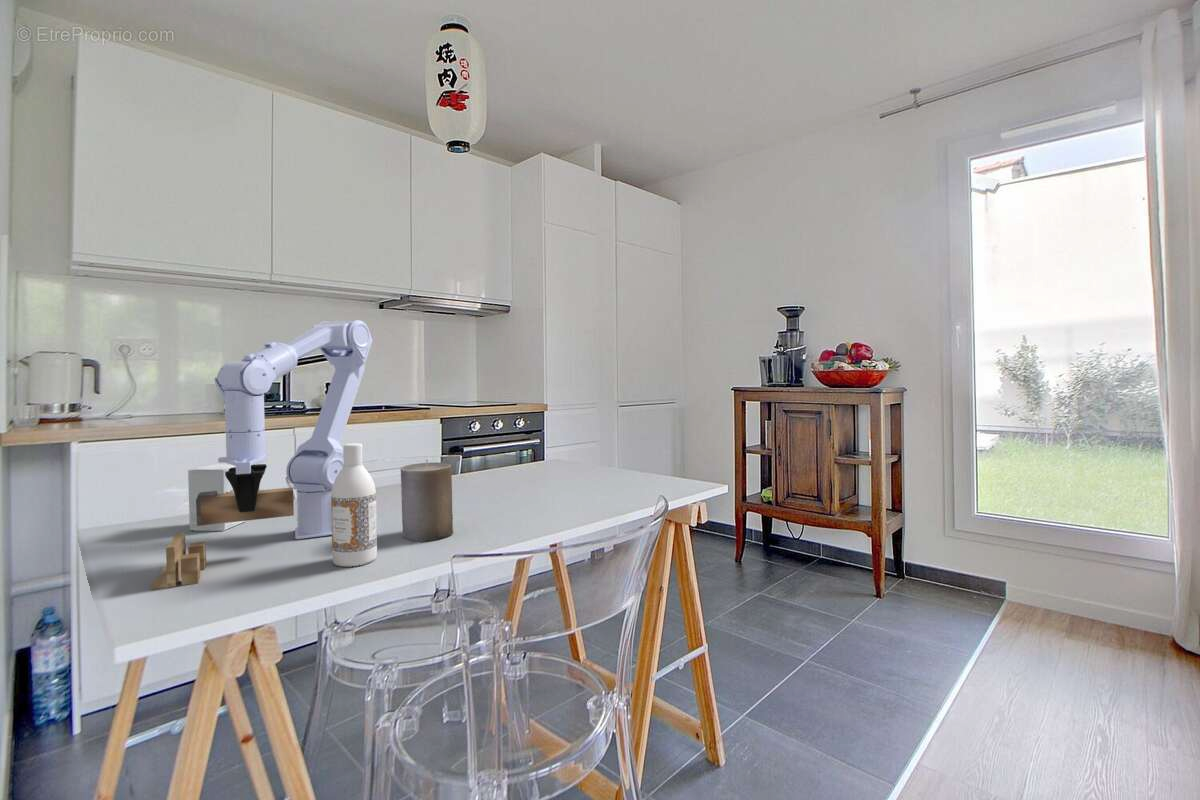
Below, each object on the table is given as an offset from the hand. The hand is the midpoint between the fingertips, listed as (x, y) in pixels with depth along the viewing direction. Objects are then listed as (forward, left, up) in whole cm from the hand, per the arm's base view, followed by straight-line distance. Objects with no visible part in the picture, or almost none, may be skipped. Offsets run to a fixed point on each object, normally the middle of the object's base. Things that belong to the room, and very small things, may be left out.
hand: (248, 509), depth 96 cm
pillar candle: (-30, +1, -9) cm, 31 cm away
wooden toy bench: (+9, +6, -8) cm, 14 cm away
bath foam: (-16, +11, -9) cm, 21 cm away
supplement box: (+7, -26, -9) cm, 28 cm away
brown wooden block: (0, 0, -2) cm, 2 cm away
